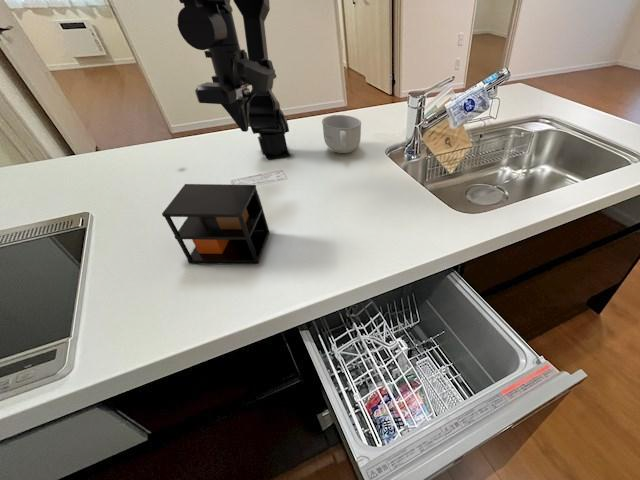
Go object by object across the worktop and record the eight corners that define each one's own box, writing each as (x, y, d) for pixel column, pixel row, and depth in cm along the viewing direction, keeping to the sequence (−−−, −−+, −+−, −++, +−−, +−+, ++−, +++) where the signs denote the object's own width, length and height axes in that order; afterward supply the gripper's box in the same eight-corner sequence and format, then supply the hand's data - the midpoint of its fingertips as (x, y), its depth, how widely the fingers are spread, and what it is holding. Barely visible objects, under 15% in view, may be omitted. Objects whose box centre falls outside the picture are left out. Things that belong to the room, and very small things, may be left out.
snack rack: (207, 232, 72) (185, 183, 64) (269, 232, 73) (255, 184, 65) (188, 263, 66) (161, 213, 58) (258, 263, 66) (240, 214, 58)
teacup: (328, 140, 105) (325, 112, 100) (364, 142, 106) (362, 114, 100) (320, 161, 96) (316, 131, 90) (359, 163, 96) (357, 133, 90)
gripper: (241, 51, 59) (263, 147, 69) (281, 41, 72) (294, 121, 83) (179, 48, 59) (210, 143, 70) (230, 38, 73) (249, 119, 84)
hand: (245, 131), depth 76 cm, fingers closed
